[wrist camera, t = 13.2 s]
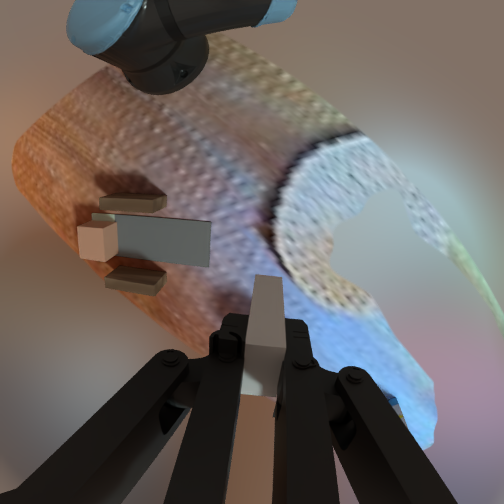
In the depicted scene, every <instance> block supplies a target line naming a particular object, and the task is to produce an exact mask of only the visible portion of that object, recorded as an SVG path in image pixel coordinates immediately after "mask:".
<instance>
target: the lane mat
mask: <svg viewBox="0 0 504 504" xmlns="http://www.w3.org/2000/svg"><path fill="white" fill-rule="evenodd" d="M92 220H95V221H109V222H117V234H118V252H119V253H118V254H116V255H115V256H122V257H129V258H137V259H144V260H152V261H160V262H168V263H176V264H184V265H192V266H200V267H209V256H210V234H211V222H204V221H193V220H182V219H170V218H157V217H144V216H131V215H116V214H101V213H92Z"/></svg>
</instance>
